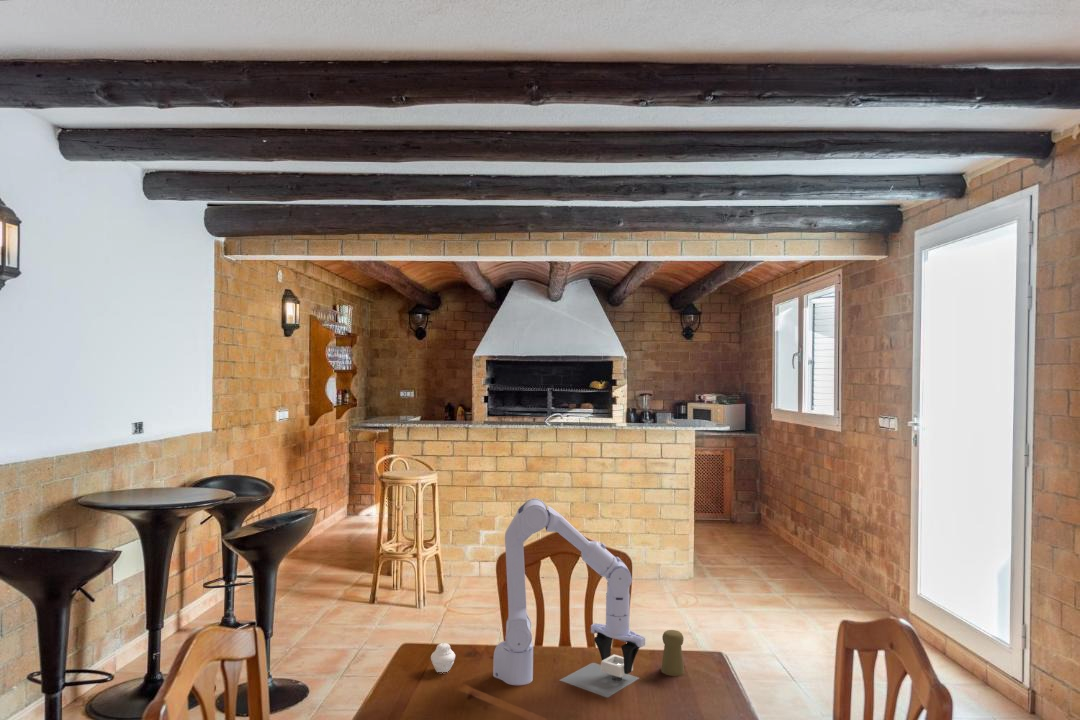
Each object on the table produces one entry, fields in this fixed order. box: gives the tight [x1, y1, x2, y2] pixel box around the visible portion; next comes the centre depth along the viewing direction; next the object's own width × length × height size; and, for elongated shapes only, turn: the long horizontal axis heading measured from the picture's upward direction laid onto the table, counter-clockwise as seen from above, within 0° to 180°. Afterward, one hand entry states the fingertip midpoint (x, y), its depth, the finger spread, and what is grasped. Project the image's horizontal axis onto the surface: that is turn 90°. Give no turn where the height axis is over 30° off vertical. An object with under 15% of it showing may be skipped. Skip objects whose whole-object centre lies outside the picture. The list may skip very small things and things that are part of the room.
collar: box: [600, 653, 634, 678], centre depth 171 cm, size 6×6×2 cm
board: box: [559, 662, 640, 698], centre depth 171 cm, size 14×14×1 cm
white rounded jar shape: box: [430, 642, 456, 674], centre depth 177 cm, size 6×6×7 cm
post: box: [612, 661, 622, 681], centre depth 171 cm, size 3×3×4 cm
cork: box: [660, 629, 685, 677], centre depth 176 cm, size 6×6×11 cm
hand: (617, 669), depth 171 cm, fingers closed on collar, 6 cm apart
